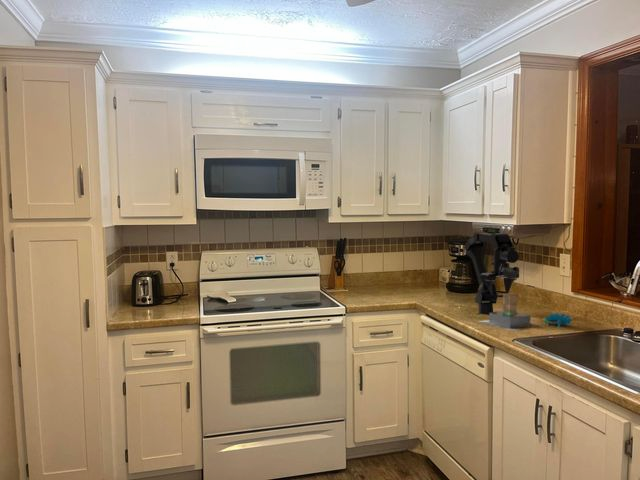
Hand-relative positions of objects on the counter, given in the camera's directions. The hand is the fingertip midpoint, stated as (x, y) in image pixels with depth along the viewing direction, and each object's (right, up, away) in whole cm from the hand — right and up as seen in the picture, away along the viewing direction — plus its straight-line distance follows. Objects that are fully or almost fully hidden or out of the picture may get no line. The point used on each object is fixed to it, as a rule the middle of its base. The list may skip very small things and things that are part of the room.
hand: (499, 293), depth 222 cm
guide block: (+1, -12, -9) cm, 15 cm away
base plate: (+1, -14, -9) cm, 16 cm away
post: (+1, -8, -9) cm, 12 cm away
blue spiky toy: (+21, -14, -12) cm, 28 cm away
